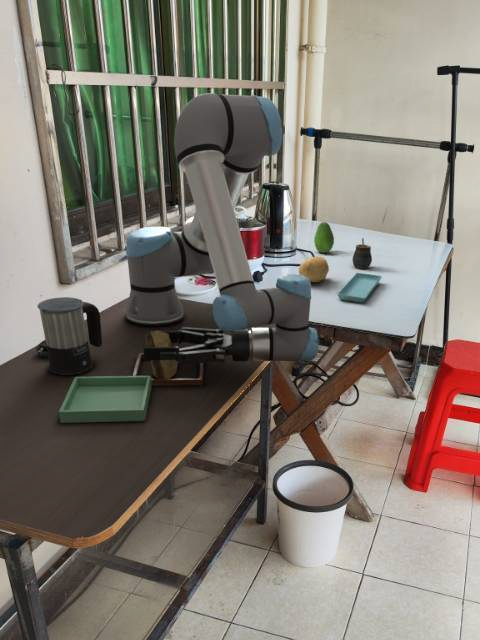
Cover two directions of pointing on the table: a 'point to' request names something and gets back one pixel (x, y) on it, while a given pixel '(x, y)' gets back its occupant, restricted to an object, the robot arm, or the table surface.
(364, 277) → the rectangular tray
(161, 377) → the rock
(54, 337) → the milk frother
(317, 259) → the potato
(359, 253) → the mate gourd
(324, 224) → the avocado
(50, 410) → the table surface
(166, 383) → the wooden frame
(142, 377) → the green tray
